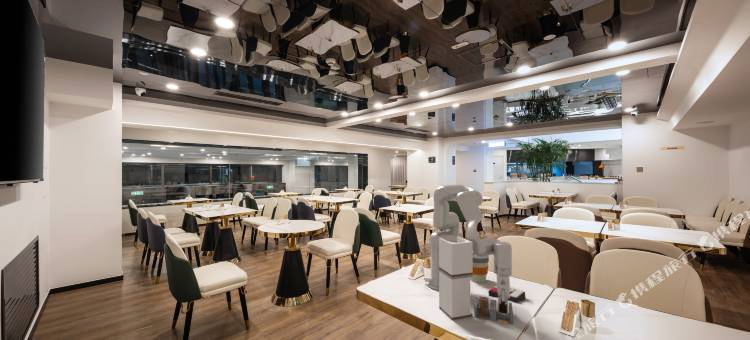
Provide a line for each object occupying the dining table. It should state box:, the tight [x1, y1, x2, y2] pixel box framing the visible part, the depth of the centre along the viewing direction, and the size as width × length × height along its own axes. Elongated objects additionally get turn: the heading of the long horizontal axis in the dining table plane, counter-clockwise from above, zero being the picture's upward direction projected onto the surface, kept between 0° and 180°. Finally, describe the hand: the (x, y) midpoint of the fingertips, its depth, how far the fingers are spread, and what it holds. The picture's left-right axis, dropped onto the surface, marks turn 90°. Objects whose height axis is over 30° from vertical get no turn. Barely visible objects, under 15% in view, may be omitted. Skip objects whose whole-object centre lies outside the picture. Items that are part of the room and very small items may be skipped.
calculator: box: [488, 284, 526, 304], centre depth 156 cm, size 11×4×15 cm
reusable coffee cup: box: [470, 252, 490, 284], centre depth 179 cm, size 13×13×15 cm
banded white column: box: [438, 236, 474, 321], centre depth 138 cm, size 11×11×35 cm
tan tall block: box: [497, 294, 509, 314], centre depth 133 cm, size 4×4×7 cm
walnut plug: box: [478, 295, 490, 316], centre depth 137 cm, size 4×4×7 cm
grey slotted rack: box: [473, 296, 514, 325], centre depth 135 cm, size 16×10×6 cm, turn 68°
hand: (502, 309), depth 134 cm, fingers closed on tan tall block, 4 cm apart
